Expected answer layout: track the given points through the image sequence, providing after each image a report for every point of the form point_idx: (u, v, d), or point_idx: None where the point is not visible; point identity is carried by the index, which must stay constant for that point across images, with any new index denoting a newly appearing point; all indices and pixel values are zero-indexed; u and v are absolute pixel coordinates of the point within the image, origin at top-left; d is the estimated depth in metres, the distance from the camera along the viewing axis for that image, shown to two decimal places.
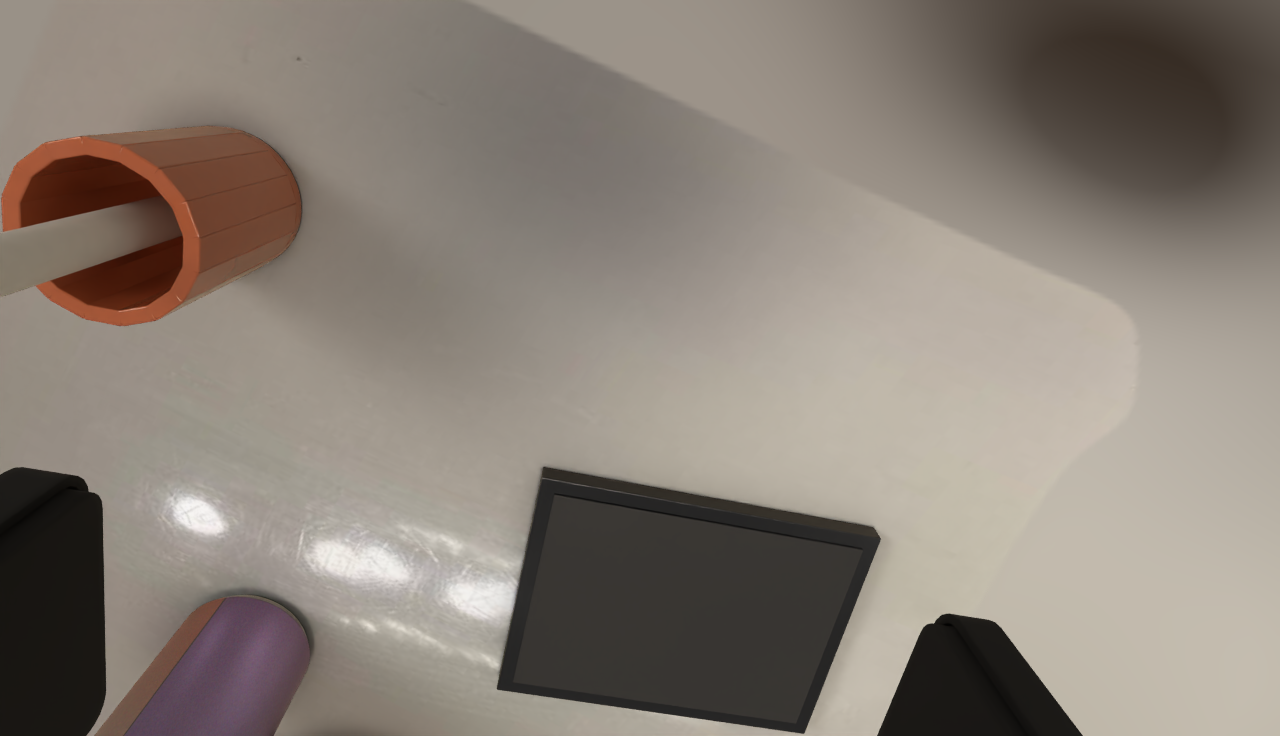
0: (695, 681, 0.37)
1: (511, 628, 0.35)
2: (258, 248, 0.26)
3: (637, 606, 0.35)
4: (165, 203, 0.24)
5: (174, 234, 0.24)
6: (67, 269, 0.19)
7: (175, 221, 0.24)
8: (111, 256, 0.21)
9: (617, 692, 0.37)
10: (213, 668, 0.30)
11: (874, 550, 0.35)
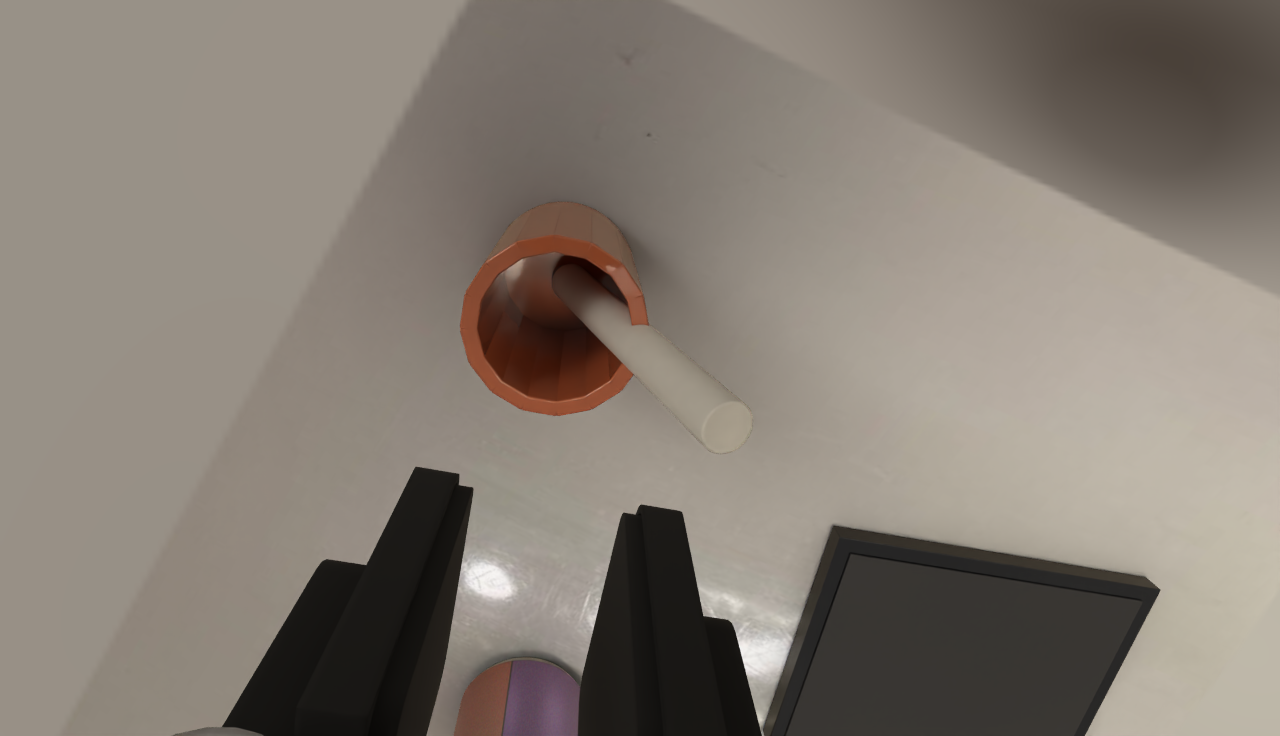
0: (961, 733, 0.37)
1: (789, 685, 0.35)
2: None
3: (916, 661, 0.35)
4: (617, 297, 0.24)
5: None
6: None
7: None
8: None
9: None
10: None
11: (1152, 601, 0.35)
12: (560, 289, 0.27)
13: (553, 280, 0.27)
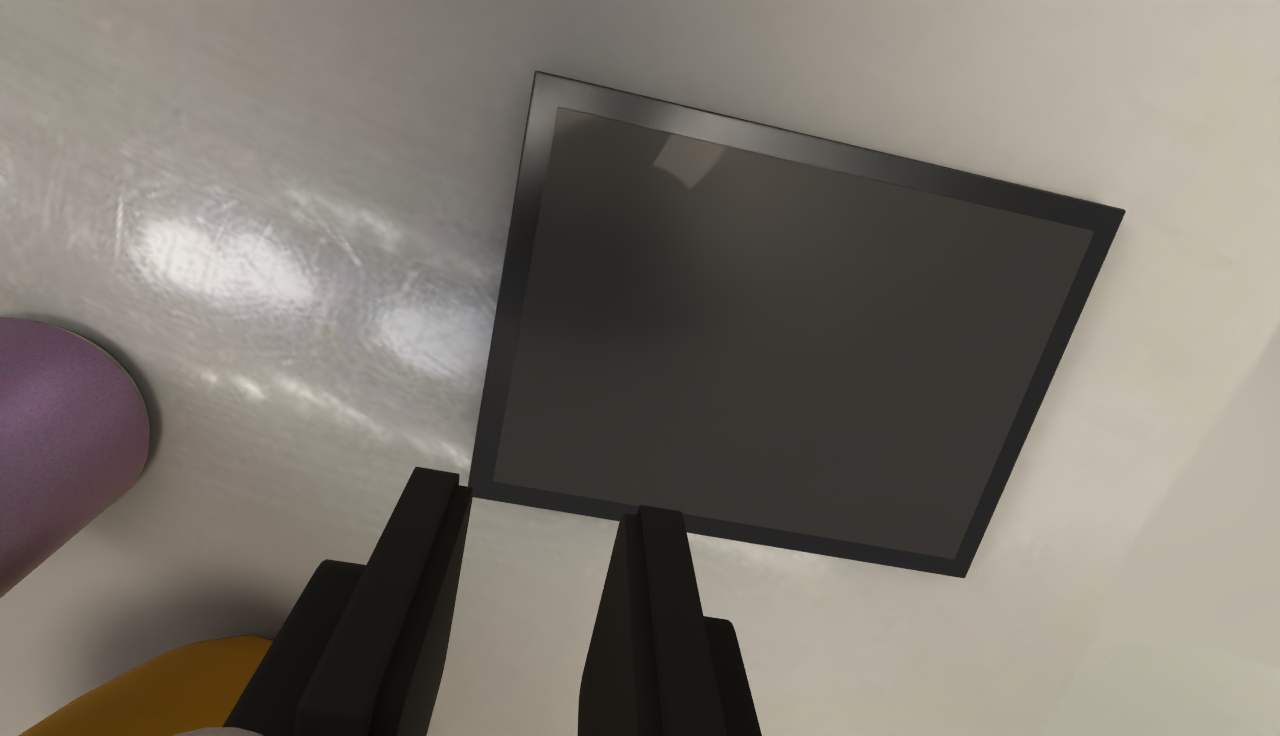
0: (794, 483, 0.22)
1: (487, 380, 0.21)
2: None
3: (701, 338, 0.21)
4: None
5: None
6: None
7: None
8: None
9: (666, 502, 0.22)
10: None
11: (1112, 233, 0.20)
12: None
13: None
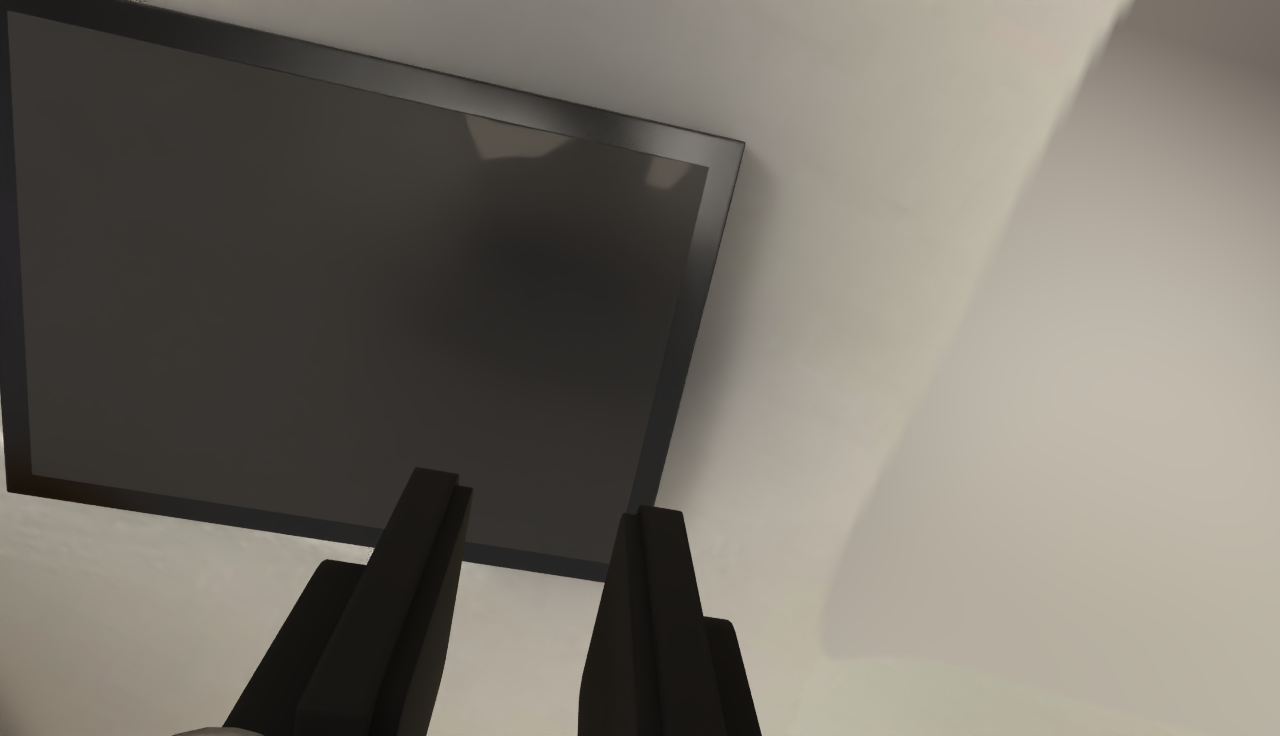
0: (403, 474, 0.19)
1: (0, 352, 0.17)
2: None
3: (250, 300, 0.17)
4: None
5: None
6: None
7: None
8: None
9: (253, 498, 0.19)
10: None
11: (734, 171, 0.17)
12: None
13: None
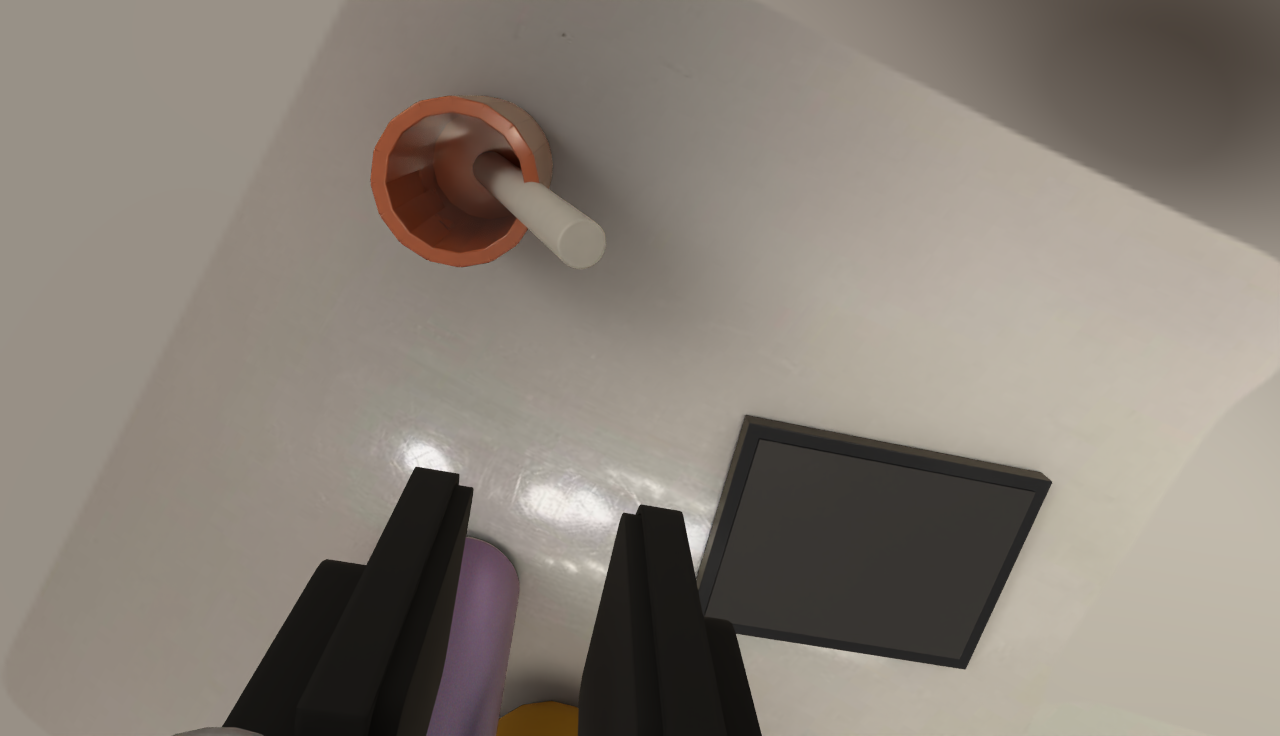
0: (870, 618, 0.40)
1: (707, 567, 0.38)
2: None
3: (824, 546, 0.38)
4: None
5: None
6: None
7: None
8: None
9: (798, 629, 0.40)
10: (464, 595, 0.33)
11: (1045, 493, 0.38)
12: (478, 171, 0.29)
13: (474, 165, 0.30)
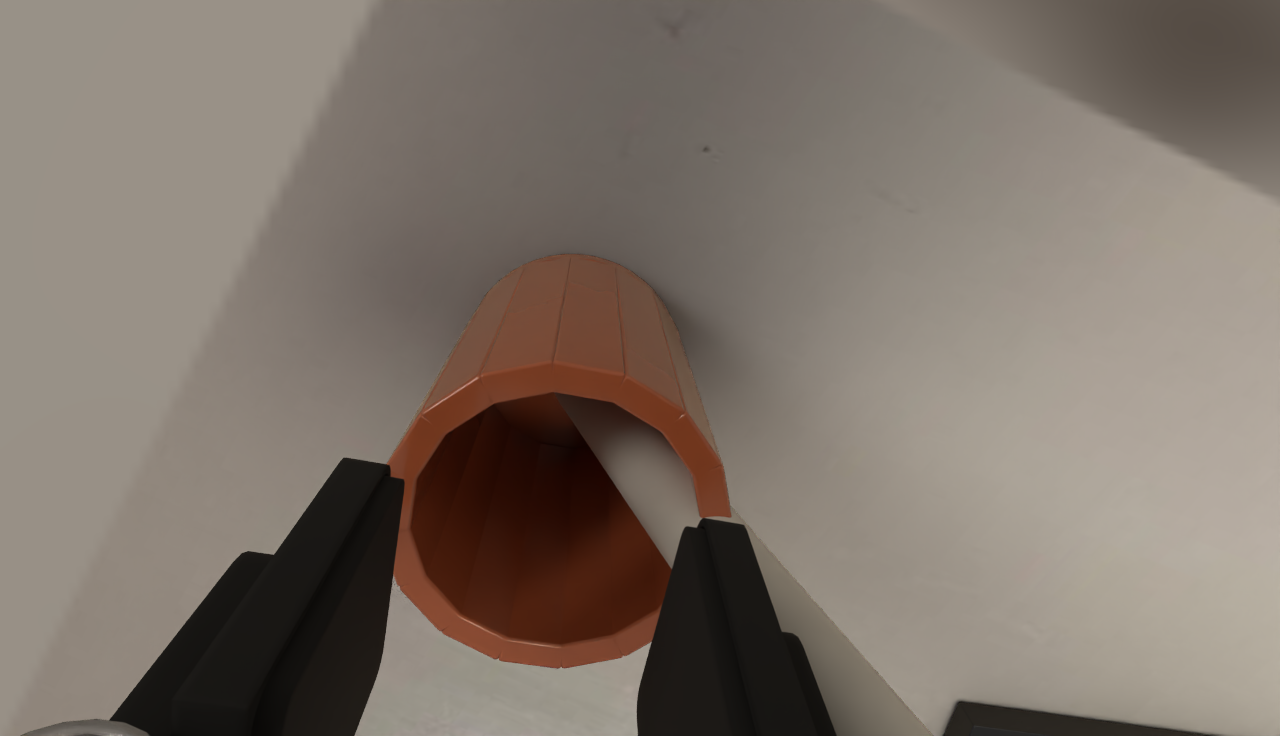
0: None
1: None
2: None
3: None
4: None
5: None
6: None
7: None
8: None
9: None
10: None
11: None
12: (567, 402, 0.16)
13: None
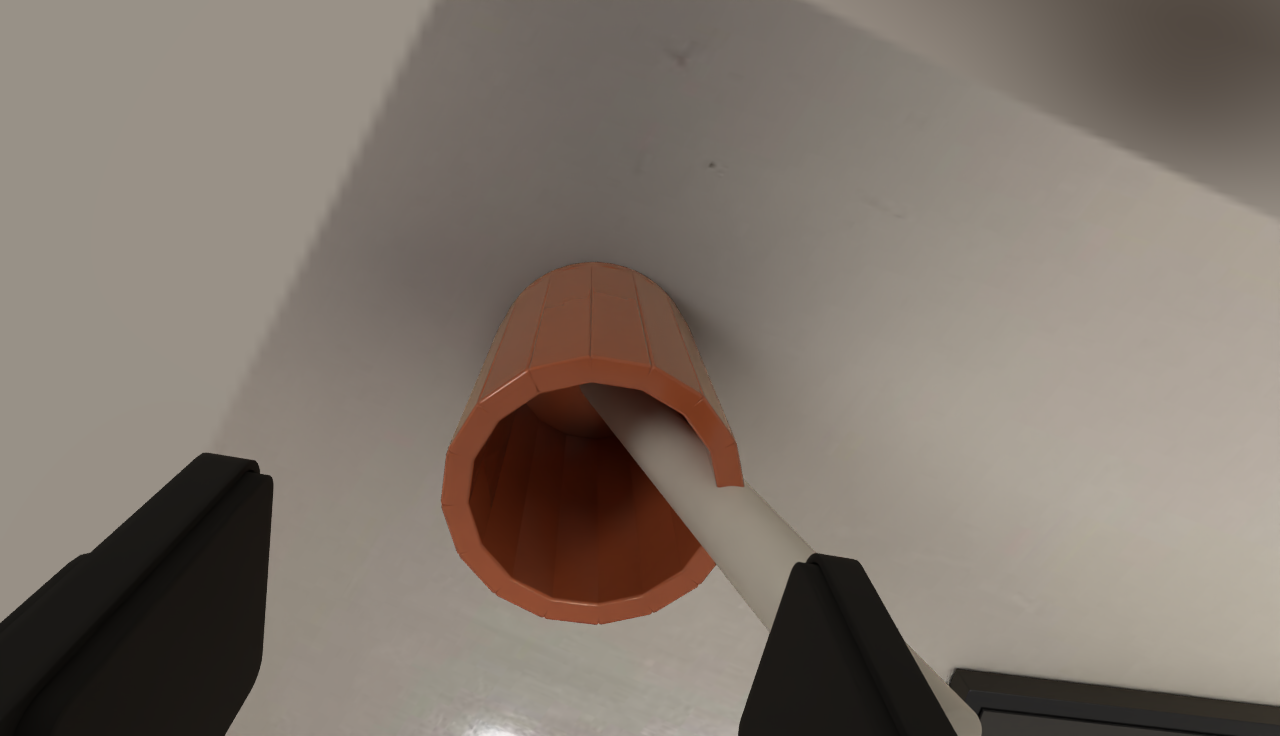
0: None
1: None
2: None
3: None
4: (682, 418, 0.16)
5: None
6: None
7: None
8: None
9: None
10: None
11: None
12: (592, 394, 0.18)
13: None
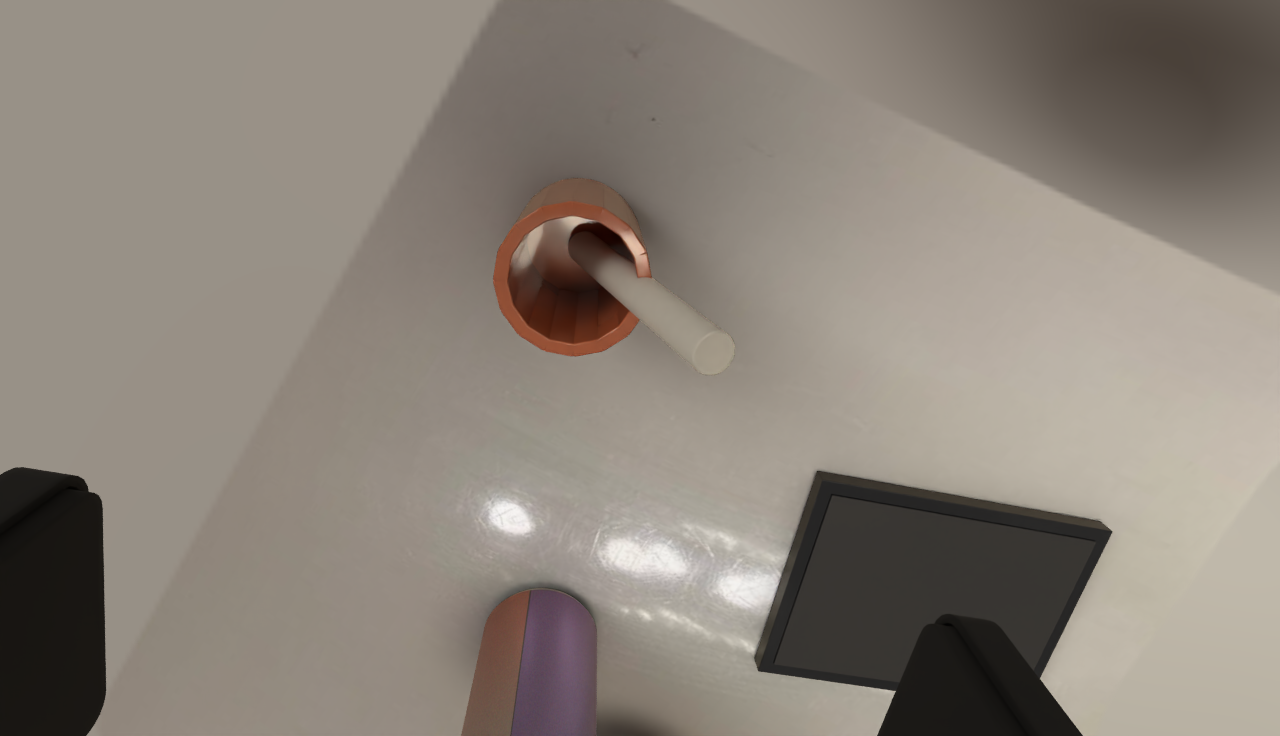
0: None
1: (778, 615, 0.40)
2: None
3: (891, 594, 0.39)
4: None
5: None
6: None
7: None
8: None
9: (864, 672, 0.41)
10: (554, 651, 0.35)
11: (1105, 542, 0.39)
12: (575, 252, 0.31)
13: (569, 245, 0.31)
